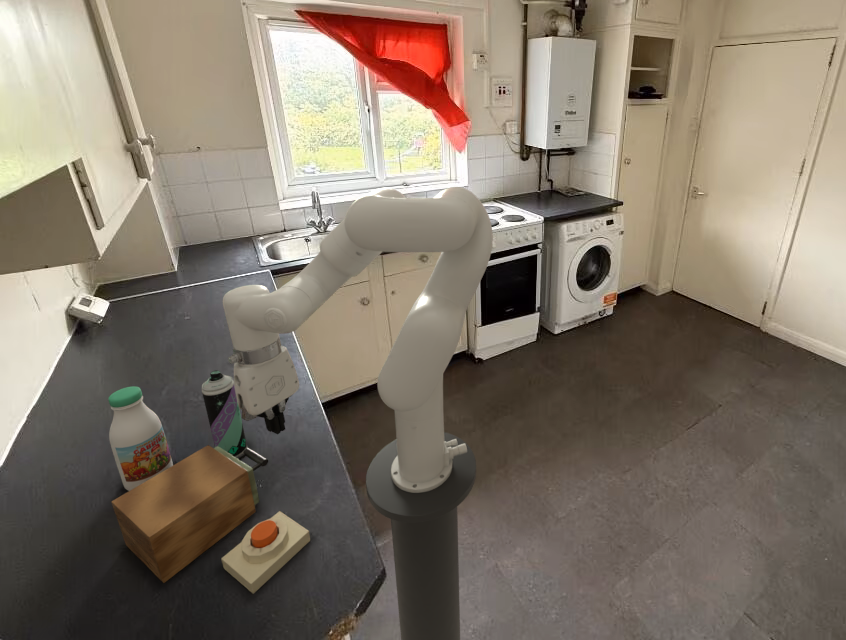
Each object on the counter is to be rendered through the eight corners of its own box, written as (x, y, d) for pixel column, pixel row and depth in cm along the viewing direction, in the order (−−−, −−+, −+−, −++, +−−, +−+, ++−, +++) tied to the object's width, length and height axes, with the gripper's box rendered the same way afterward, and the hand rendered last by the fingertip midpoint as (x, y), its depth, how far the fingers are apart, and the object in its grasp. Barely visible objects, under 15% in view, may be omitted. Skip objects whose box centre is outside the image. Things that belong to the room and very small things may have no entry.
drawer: (246, 463, 88) (239, 432, 85) (280, 485, 82) (274, 453, 80) (142, 532, 73) (131, 496, 70) (177, 564, 68) (166, 527, 65)
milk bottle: (113, 493, 81) (83, 406, 75) (145, 462, 88) (120, 380, 82) (154, 493, 81) (128, 405, 75) (183, 462, 89) (161, 380, 82)
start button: (269, 524, 72) (267, 516, 71) (282, 534, 70) (280, 526, 70) (247, 541, 69) (245, 533, 68) (261, 552, 67) (259, 544, 67)
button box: (281, 520, 76) (278, 502, 75) (310, 540, 73) (307, 522, 72) (223, 568, 68) (218, 550, 67) (253, 594, 64) (248, 575, 63)
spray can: (211, 457, 90) (191, 376, 84) (234, 440, 95) (217, 362, 89) (230, 464, 88) (212, 382, 82) (253, 446, 93) (237, 367, 87)
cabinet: (217, 484, 84) (208, 444, 81) (256, 511, 78) (247, 470, 75) (126, 545, 71) (110, 501, 68) (163, 583, 66) (149, 537, 63)
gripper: (229, 375, 72) (251, 461, 77) (306, 336, 84) (321, 413, 90) (205, 364, 75) (228, 447, 81) (283, 329, 88) (298, 403, 93)
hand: (277, 429), depth 85 cm, fingers closed
